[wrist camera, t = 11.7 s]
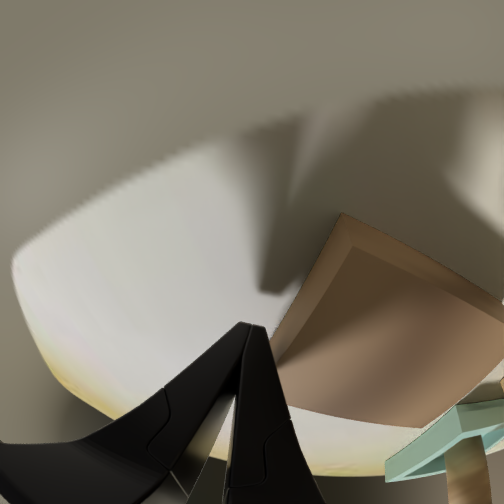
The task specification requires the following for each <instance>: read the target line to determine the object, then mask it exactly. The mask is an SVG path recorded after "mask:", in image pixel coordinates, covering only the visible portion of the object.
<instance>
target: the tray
mask: <svg viewBox="0 0 504 504" xmlns="http://www.w3.org/2000/svg"><path fill="white" fill-rule="evenodd" d="M477 435H481V436H482V440H483V445H484V450H485V452H487V451H488V450H490V449H491V448H492V447H494V446H495V445H496V444H498V443H499V442H500V441H502V440H503V439H504V398H503V399H497V400H492V401H485V402H479V403H471V404H462V405H455V406H454V407H453V408H452V409H451V410H450V411H449V412H448V413H447V414H446V415H445V416H443V417H442V418H441V419H440V420H439V421H438V422H437V423H436V424H434V425H433V426H432V427H431V428H430V429H429V430H427V431H426V432H425V433H424V434H422V435H421V436H420V437H419V438H417V439H416V440H415V441H413V442H412V443H411V444H410V445H408V446H407V447H405V448H404V449H403V450H401V451H400V452H399V453H397V454H396V455H394V456H393V457H391V458H390V459H388V460H387V461H385V482H393V481H400V480H408V479H413V478H420V477H425V476H430V475H435V474H439V473H444V472H446V466H445V458H444V452H445V451H447V450H448V449H450V448H451V447H452V446H454V445H455V444H456V443H458V442H459V441H460V440H462V439H464V438H469V437H473V436H477Z"/></svg>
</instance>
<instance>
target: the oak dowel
mask: <svg viewBox="0 0 504 504" xmlns="http://www.w3.org/2000/svg"><path fill="white" fill-rule="evenodd" d="M444 458H445V466H446V474H447V485H448V499H449V504H492V499H491V488H490V480H489V473H488V466H487V460H486V455H485V450H484V445H483V440H482V436H481V435H477V436H473V437H469V438H464V439H462V440H460V441H459V442H458V443H456V444H455V445H454V446H452V447H451V448H450V449H448V450H447V451H445V452H444Z"/></svg>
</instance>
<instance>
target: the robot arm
mask: <svg viewBox="0 0 504 504" xmlns="http://www.w3.org/2000/svg"><path fill="white" fill-rule="evenodd" d="M235 395H236V396H235ZM234 397H235V404H234V412H233V420H232V428H231V436H230V444H229V452H228V460H227V469H226V476H225V484H224V492H223V501H222V504H326V502H325V500H324V498H323V496H322V494H321V492H320V490H319V488H318V486H317V484H316V482H315V479H314V477H313V475H312V473H311V471H310V469H309V467H308V465H307V462H306V460H305V458H304V455H303V453H302V451H301V448H300V445H299V442H298V439H297V436H296V433H295V430H294V427H293V423H292V420H290V419H291V417H290V413H289V410H288V406H287V403H286V399H285V396H284V392H283V389H282V385H281V382H280V378H279V374H278V371H277V367H276V364H275V360H274V357H273V353H272V350H271V346H270V342H269V339H268V335H267V332H266V329H265V327H264V326H259V325H255V324H253V325H252V324H250V323H245V322H238V323H237V324H236V325H235V326H234V327H233V328H231V329H230V330H229V331H228V332H227V333H226V334H225V335H224V336H222V337H221V338H220V339H219V340H218V341H217V342H216V343H214V344H213V345H212V346H211V347H210V348H209V349H208V350H206V351H205V352H204V353H203V354H202V355H201V356H199V357H198V358H197V359H196V360H195V361H194V362H192V363H191V364H190V365H189V366H188V367H187V368H185V369H184V370H183V371H182V372H181V373H179V374H178V375H177V376H176V377H175V378H173V379H172V380H171V381H170V382H169V383H167V384H166V385H165V386H164V388H161V389H160V390H159V391H157V392H156V393H155V394H154V395H153V396H151V397H150V398H149V399H147V400H146V401H145V402H143V403H142V404H140V405H139V406H138V407H136V408H134V409H133V410H131V411H130V412H128V413H126V414H125V415H123V416H121V417H120V418H118V419H116V420H114V421H113V422H111V423H109V424H108V425H106V426H104V427H102V428H100V429H98V430H97V431H95V432H93V433H91V434H89V435H87V436H85V437H82V438H80V439H77V440H73V441H68V442H58V443H43V444H7V443H3V442H2V441H1V440H0V504H186V502H187V500H188V497H189V496H190V494H191V492H192V490H193V488H194V485H195V483H196V481H197V479H198V477H199V475H200V473H201V471H202V469H203V467H204V465H205V462H206V460H207V458H208V456H209V454H210V452H211V450H212V447H213V445H214V443H215V441H216V439H217V436H218V434H219V432H220V430H221V427H222V425H223V423H224V421H225V418H226V416H227V414H228V411H229V409H230V407H231V404H232V402H233V400H234Z"/></svg>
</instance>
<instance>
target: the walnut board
mask: <svg viewBox="0 0 504 504" xmlns="http://www.w3.org/2000/svg"><path fill="white" fill-rule="evenodd" d="M269 342H270V346H271V350H272V353H273V357H274V360H275V364H276V367H277V371H278V374H279V378H280V382H281V385H282V389H283V392H284V396H285V399H286V403H287V405H289V406H293V407H297V408H301V409H305V410H309V411H313V412H317V413H321V414H326V415H330V416H335V417H340V418H345V419H351V420H356V421H362V422H369V423H376V424H383V425H391V426H400V427H411V428H423V427H424V426H426V425H427V424H429V423H430V422H431V421H433V420H434V419H436V418H437V417H438V416H440V415H441V414H442V413H444V412H445V411H446V410H448V409H449V408H450V407H452V406H453V405H454V404H455V403H457V402H458V401H459V400H460V399H461V398H463V397H464V396H465V395H466V394H467V393H468V392H470V391H471V390H472V389H473V388H474V387H475V386H476V385H477V384H478V383H480V382H481V381H482V380H483V379H484V378H485V377H486V376H487V375H488V374H489V373H490V372H491V371H492V370H493V369H494V368H495V367H496V366H497V365H498V364H499V363H500V362H501V361H502V359H503V358H504V305H503V304H502V303H501V302H500V301H499V300H497V299H496V298H495V297H493V296H492V295H490V294H489V293H487V292H485V291H484V290H482V289H481V288H479V287H478V286H476V285H475V284H473V283H471V282H470V281H468V280H467V279H465V278H463V277H462V276H460V275H458V274H457V273H455V272H453V271H452V270H450V269H448V268H447V267H445V266H443V265H442V264H440V263H438V262H436V261H435V260H433V259H431V258H429V257H428V256H426V255H424V254H422V253H420V252H419V251H417V250H415V249H413V248H411V247H409V246H408V245H406V244H404V243H402V242H400V241H398V240H396V239H394V238H392V237H391V236H389V235H387V234H385V233H383V232H381V231H379V230H377V229H375V228H373V227H371V226H369V225H367V224H365V223H363V222H361V221H358V220H356V219H354V218H352V217H350V216H348V215H346V214H344V213H342V212H341V214H340V216H339V218H338V220H337V222H336V224H335V226H334V228H333V230H332V232H331V234H330V236H329V238H328V240H327V241H326V243H325V245H324V247H323V249H322V251H321V253H320V255H319V257H318V258H317V260H316V262H315V264H314V266H313V268H312V269H311V271H310V273H309V275H308V277H307V278H306V280H305V282H304V284H303V286H302V287H301V289H300V291H299V293H298V294H297V296H296V298H295V300H294V301H293V303H292V305H291V306H290V308H289V310H288V312H287V313H286V315H285V317H284V318H283V320H282V322H281V323H280V325H279V327H278V328H277V330H276V332H275V333H274V335H273V337H272V338H271V340H270V341H269Z"/></svg>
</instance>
